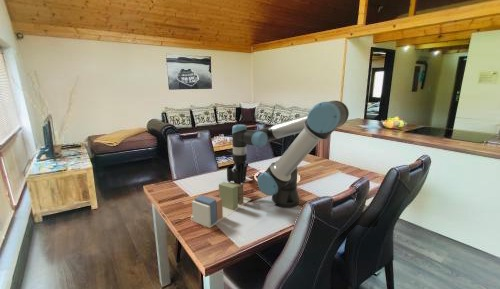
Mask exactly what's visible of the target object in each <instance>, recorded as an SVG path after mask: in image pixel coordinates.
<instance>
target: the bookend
mask: <svg viewBox="0 0 500 289" xmlns="http://www.w3.org/2000/svg"><path fill="white" fill-rule="evenodd" d="M227 183H230V184H234V185H237V187H238V204H240V205H241V204H242V203H243V197H244V184H243V185H240V184H237V183H234V181H230V182H229V181H227Z"/></svg>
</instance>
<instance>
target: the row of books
mask: <svg viewBox="0 0 500 289" xmlns="http://www.w3.org/2000/svg"><path fill="white" fill-rule="evenodd" d="M251 200H252V198H249V197H245V196H243V203H242V204H241V205H240V204H238V207H237V208H236V209H234V210H231V209H228V208H225V207H222V208H223V217H222V218H220V219H219V220H217V222H215V223H214V224H212V225H211V217H210V206H208V205H205V204H202V203H199V202H196V201H195V200H192V201H191V208H192V209H191V210H192V215H191V216H190V221H192V222H194V223H197V224H199V225H201V226H204V227H207V228H208V229H210V228H212V227H214V226H216V224H218V223H219V222H221V221H222V220H224V219H225V218H226V217H228V216H230V214H231V215H232V213H234V212H235V211H237V210H238V209H240V208H241V207H243V206H244V205H246V204H247V203H248V202H250V201H251Z"/></svg>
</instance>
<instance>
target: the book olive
mask: <svg viewBox="0 0 500 289" xmlns="http://www.w3.org/2000/svg"><path fill="white" fill-rule="evenodd" d="M218 195H219V196H218V198H221V199H222V207H225V208H228V209H231V210H234V209H236V208H237V207H238V187H237V185H234V184H230V183H228V182H225V181H223V182H221V183H218Z"/></svg>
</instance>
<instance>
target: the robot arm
mask: <svg viewBox="0 0 500 289" xmlns="http://www.w3.org/2000/svg"><path fill="white" fill-rule="evenodd" d="M349 112H350V111H349V108H348V106H347V105H346V104H345V103H344V102H343V101H339V100H329V101H321V102H319V103H317V104H314V105H313V106H312V107H311V108H310V109H309V111H308V112H307V114H304V115H302V116H297V117H295V118H292V119H289V120H286V121H282V122H280V123H277V124H273V125H270V126H267V127H264V128H259V129H256V130H253V129H252V130H251V129H250V130H249V129H247V125H246V124H235V125H233V126H232V130H231V131H232V132H231V136H232V137H231V138H232V140H231V141H232V161H233V162H234V163H233V165H234V167H233V168H231V171H232V174H233V179H234V181H233V183H237V184H240V185H243V186H244V184H245V183H246V180H247V171H248V167H249V163H247V157H248V156H247V151H248V148H247V146H253V147H257V148H259V147H260V148H262V147H265V145H267V143H269V142H271V141H274V140H278V139H282V138H284V137H288V136H293V135H296V134H298V135H297V136H296V138H295V139H294V140H293V141H292V143H291V144H290V145H289V146H288V148H286V150H285V151H284V152H283V153H282V155H281V156H280V158H279V159H278V160H275V161H274V162H271V163H270V165H268V167H267V168H266V170H265V171H264V172H260V174H259V175H258V176H257V180H256V181H257V186H258V189H259V191H261V192H262V193H263V194H265V195H266V196H271V200H272V203H274V206H277V207H281V208H294V207H297V206H298V205H299V204H300V194H299V192H298V188H297V187H298V186H297V185H298V170H299V169H298V166H299V165H300V164H301V162H303V160H304V159H305V158H306V157H307V156H308V155H309V154H310V153H311V151H313V149H314V148H315V147H316V146H317V145H318V144H319V143H320V141H324V140H325V141H326V140H327V139H328V137H330V136H331V134H332V133H333V132H334V131H335V130H336V129H337V128H340V127H342V126H344V124H345V123H346V122H347V121H348V119H349V116H350V113H349Z"/></svg>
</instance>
